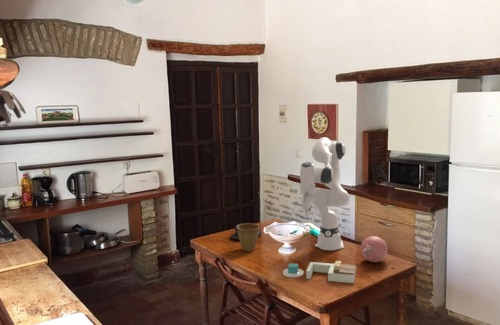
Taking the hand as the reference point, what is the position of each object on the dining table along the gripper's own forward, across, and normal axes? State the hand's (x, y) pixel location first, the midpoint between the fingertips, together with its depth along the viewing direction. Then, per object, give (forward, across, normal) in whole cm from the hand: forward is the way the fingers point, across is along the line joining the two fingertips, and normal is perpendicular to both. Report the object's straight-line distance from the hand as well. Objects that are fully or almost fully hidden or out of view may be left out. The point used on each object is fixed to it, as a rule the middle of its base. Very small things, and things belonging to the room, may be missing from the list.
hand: (308, 213), depth 264 cm
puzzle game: (+32, +57, +17) cm, 68 cm away
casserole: (+31, +42, +53) cm, 75 cm away
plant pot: (+31, +16, +43) cm, 56 cm away
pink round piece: (+31, +10, -36) cm, 49 cm away
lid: (+26, -17, -23) cm, 39 cm away
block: (+30, -17, +6) cm, 35 cm away
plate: (+31, -17, +6) cm, 36 cm away
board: (+31, -15, -15) cm, 38 cm away
